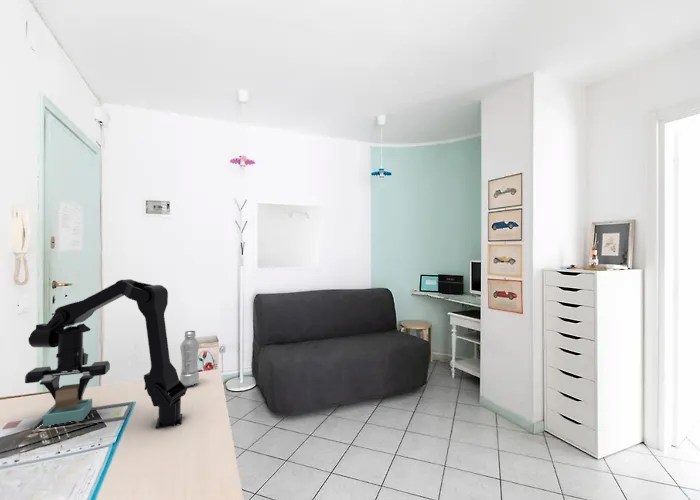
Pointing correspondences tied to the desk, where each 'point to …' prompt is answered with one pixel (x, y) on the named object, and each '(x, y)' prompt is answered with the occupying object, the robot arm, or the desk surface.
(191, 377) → the plastic bottle
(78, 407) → the teal square tray
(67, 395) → the walnut block
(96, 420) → the gray metal rectangular frame
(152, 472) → the desk surface
